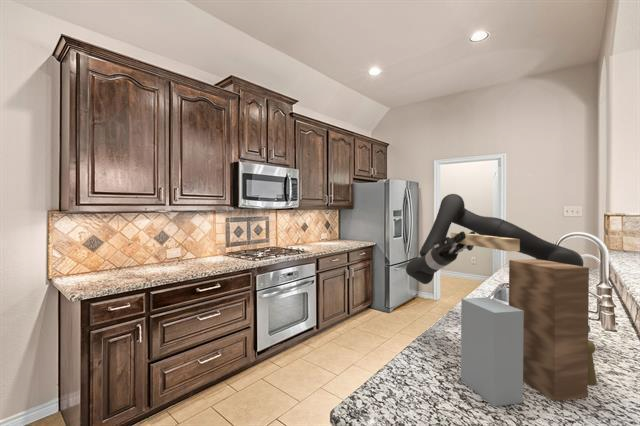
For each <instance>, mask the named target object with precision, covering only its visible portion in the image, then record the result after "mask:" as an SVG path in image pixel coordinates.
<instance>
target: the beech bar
mask: <svg viewBox="0 0 640 426" xmlns="http://www.w3.org/2000/svg"><path fill="white" fill-rule="evenodd" d="M459 233H460V232H450V238H451V237H453V236H456V235H457V234H459ZM464 233H465V232H464ZM465 236H466V238H465V239H463V240H462V241H461V242H459V243H461V244H467V245H473V246H474V247H480V248H485V249H493V250H498V251H505V252H516V251H520V239H513V238H504V237H495V236H486V235H479V234H477V233H475V234H469V233H467V232H466V233H465Z"/></svg>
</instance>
